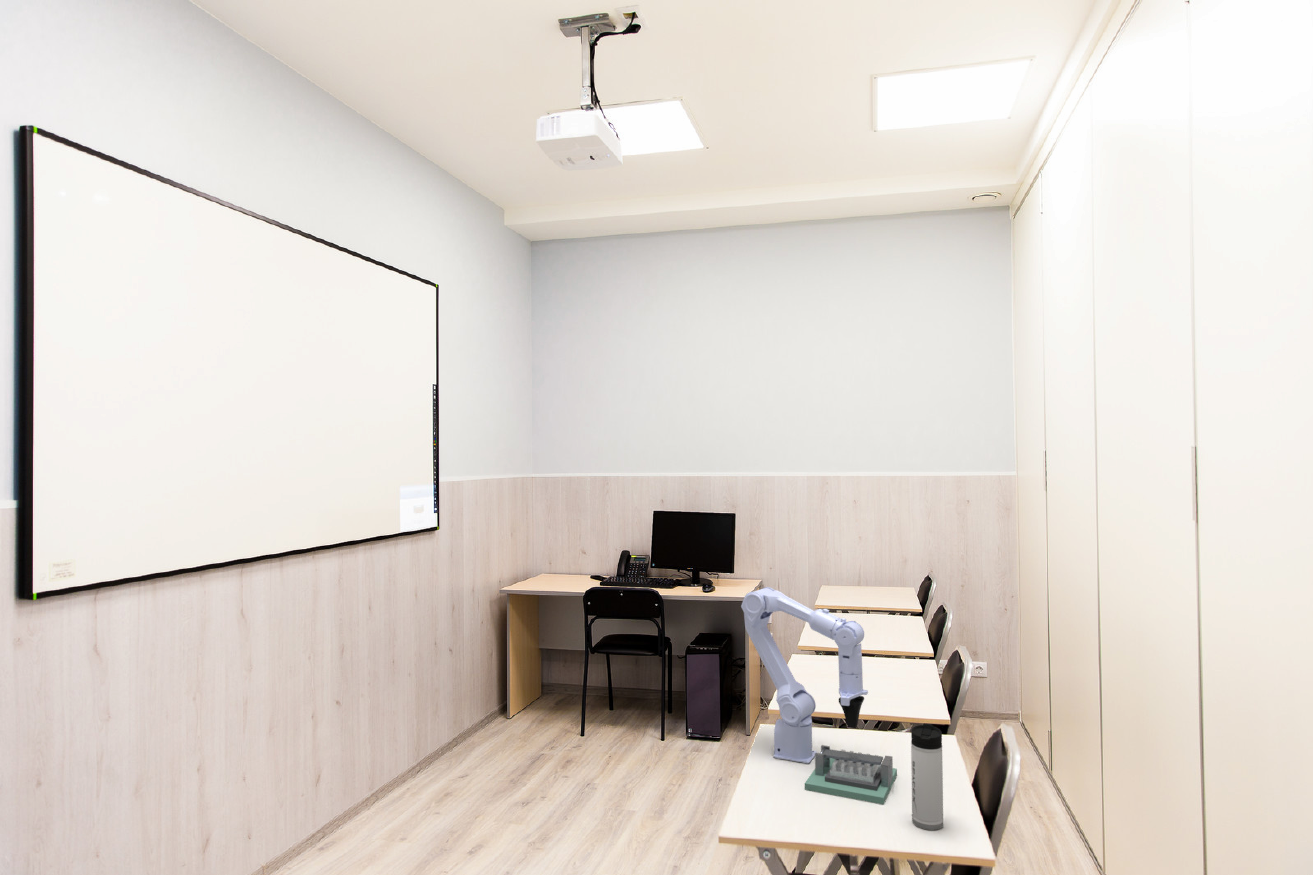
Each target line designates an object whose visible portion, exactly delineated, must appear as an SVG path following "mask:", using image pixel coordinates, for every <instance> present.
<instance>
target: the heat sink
mask: <svg viewBox="0 0 1313 875" xmlns="http://www.w3.org/2000/svg"><path fill="white" fill-rule="evenodd" d="M823 748H826V749H831V745H825V744H821V745H820V751H821V750H822V749H823ZM840 751H846V750H845V749H841V750H840ZM849 752H853V753H855V752H854V751H853V750H850V751H849ZM857 753H860V754H863V752H860V751H859V752H857ZM866 754H867V755H871V754H870V753H866ZM874 756H880V755H878V754H875V755H874ZM893 760H894V759H893V756H891V755H885V756H884V757H883V760H882V762H881V764H880V765H875V764H868V763H861V762H854V761H847V760H840V759H835V761H834V762H833V764H832V768H831V769H830V776H831V777H836V778H842V779H848V780H853V781H859V782H864V783H870V784H874V782H875V780H876V778H877V776H878V774H879V772H880V770H881V786H882V787H889V785H890V783H891V781H892V778H893V768H894V767H893V764H894V763H893V762H894V761H893ZM814 764H815V766H814V767H815V768H814V769H815V775H819V776H824V767H827V768H829V767H830V758H826V757H824V754H821V753H820V752H817V753H815V756H814Z"/></svg>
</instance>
